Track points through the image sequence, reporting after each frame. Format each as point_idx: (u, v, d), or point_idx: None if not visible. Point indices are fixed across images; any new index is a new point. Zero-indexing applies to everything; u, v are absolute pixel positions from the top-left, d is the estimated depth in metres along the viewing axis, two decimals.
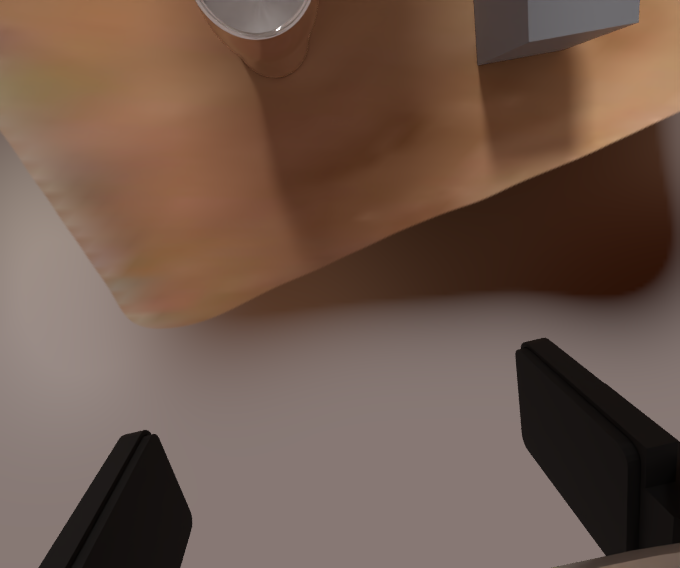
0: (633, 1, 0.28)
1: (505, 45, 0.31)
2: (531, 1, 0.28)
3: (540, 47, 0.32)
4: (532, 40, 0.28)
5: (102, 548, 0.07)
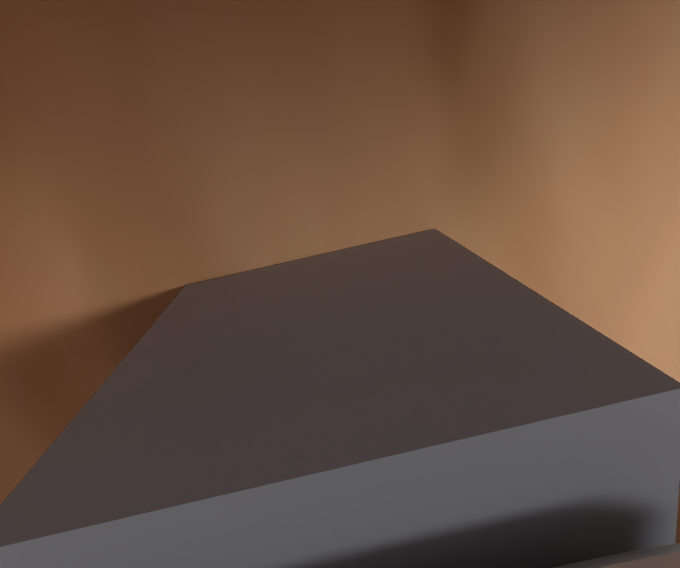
0: None
1: (132, 373, 0.07)
2: (191, 522, 0.04)
3: None
4: None
5: None
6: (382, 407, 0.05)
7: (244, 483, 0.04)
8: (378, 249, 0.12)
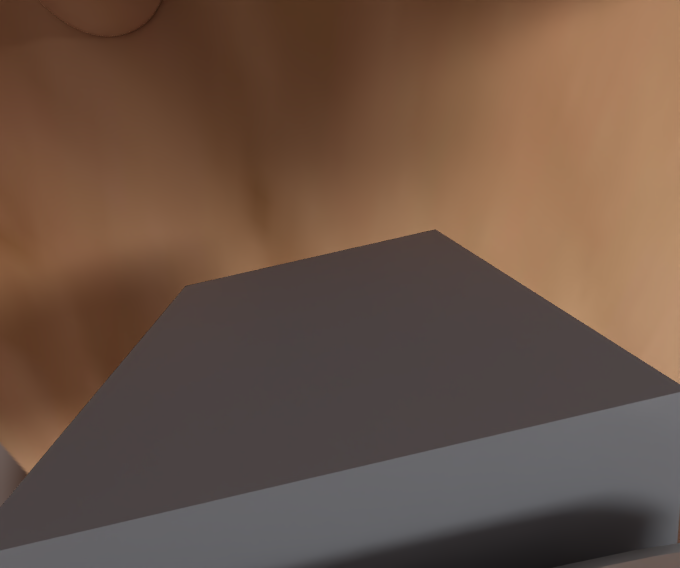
0: None
1: (132, 375, 0.07)
2: (191, 526, 0.04)
3: None
4: None
5: None
6: (383, 410, 0.05)
7: (244, 487, 0.04)
8: (378, 250, 0.12)
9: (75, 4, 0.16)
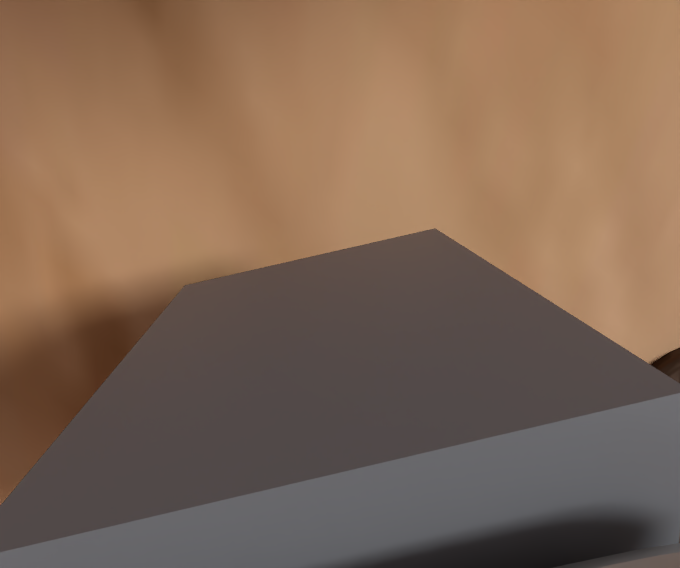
0: None
1: (130, 375, 0.07)
2: (189, 527, 0.04)
3: None
4: None
5: None
6: (383, 410, 0.05)
7: (243, 488, 0.04)
8: (378, 249, 0.12)
9: None
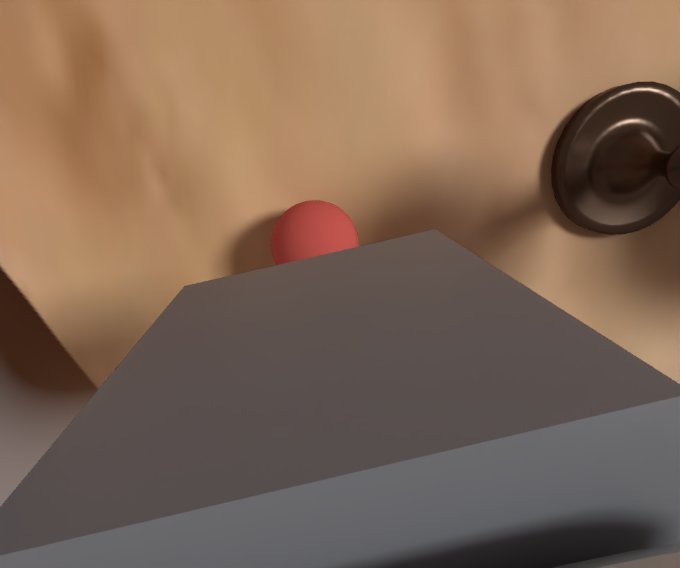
0: None
1: (130, 377, 0.07)
2: (189, 531, 0.04)
3: None
4: None
5: None
6: (383, 413, 0.05)
7: (243, 491, 0.04)
8: (378, 250, 0.12)
9: None
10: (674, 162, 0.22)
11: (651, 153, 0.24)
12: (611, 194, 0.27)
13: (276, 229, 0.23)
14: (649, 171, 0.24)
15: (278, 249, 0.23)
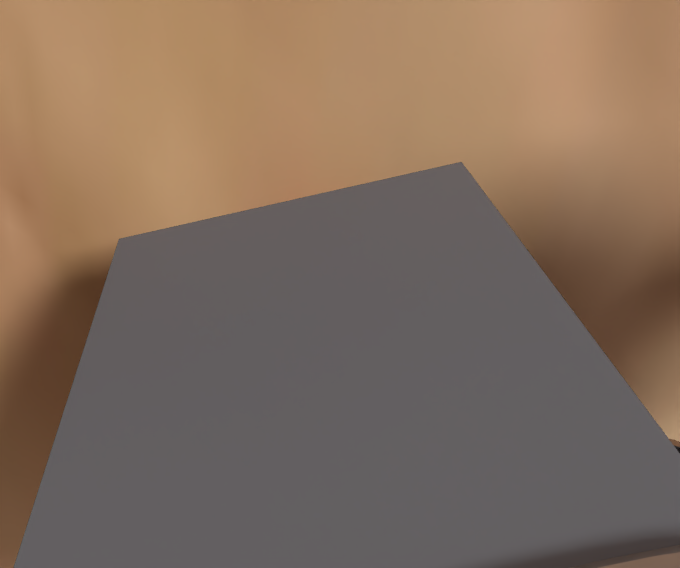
0: None
1: (72, 490, 0.05)
2: None
3: None
4: None
5: None
6: None
7: None
8: (387, 203, 0.09)
9: None
10: None
11: None
12: None
13: None
14: None
15: None
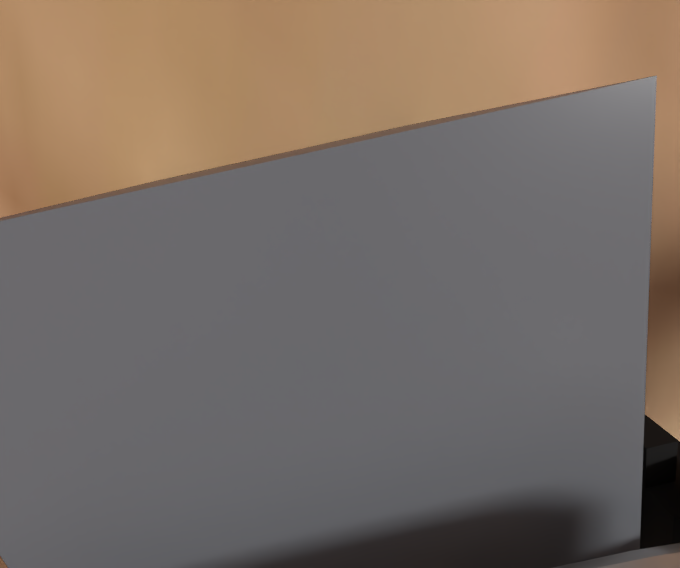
0: None
1: None
2: (85, 230, 0.04)
3: None
4: None
5: None
6: (318, 149, 0.05)
7: (147, 188, 0.04)
8: None
9: None
10: None
11: None
12: None
13: None
14: None
15: None
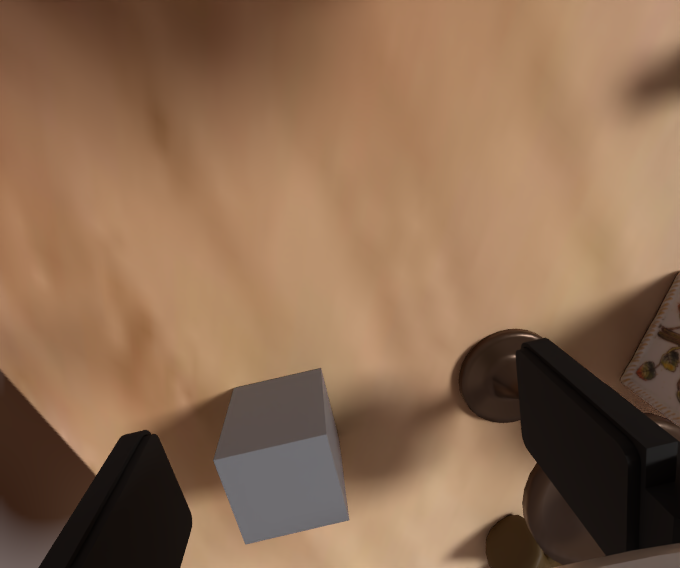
0: (261, 535, 0.30)
1: (229, 426, 0.31)
2: (249, 455, 0.28)
3: None
4: (215, 463, 0.28)
5: (102, 548, 0.07)
6: (281, 436, 0.29)
7: (257, 449, 0.28)
8: (299, 378, 0.35)
9: None
10: None
11: None
12: (501, 397, 0.38)
13: None
14: (517, 398, 0.35)
15: None
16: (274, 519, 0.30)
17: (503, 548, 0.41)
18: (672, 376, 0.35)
